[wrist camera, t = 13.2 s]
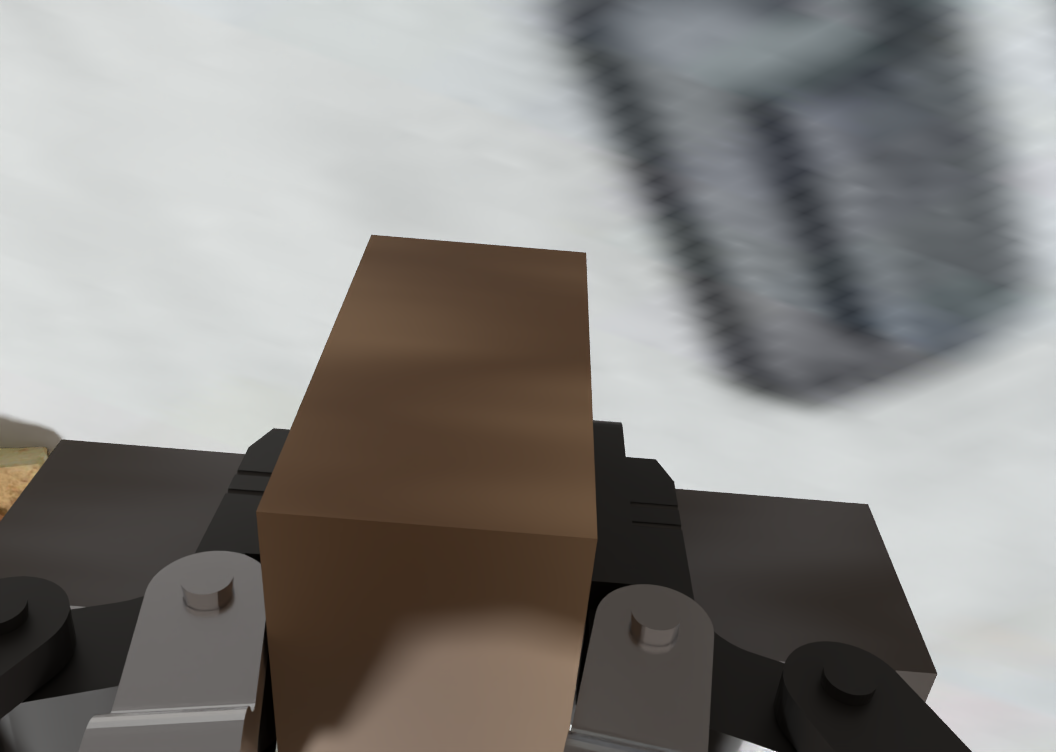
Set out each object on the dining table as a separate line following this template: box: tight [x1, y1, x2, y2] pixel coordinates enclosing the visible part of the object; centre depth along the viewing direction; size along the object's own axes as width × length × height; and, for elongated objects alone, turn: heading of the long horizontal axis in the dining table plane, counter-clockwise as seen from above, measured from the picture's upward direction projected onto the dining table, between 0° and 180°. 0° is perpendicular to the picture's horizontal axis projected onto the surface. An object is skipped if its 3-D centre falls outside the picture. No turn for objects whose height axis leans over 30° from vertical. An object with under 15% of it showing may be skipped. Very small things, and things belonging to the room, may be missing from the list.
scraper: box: [0, 235, 937, 752], centre depth 13 cm, size 13×5×6 cm, turn 86°
